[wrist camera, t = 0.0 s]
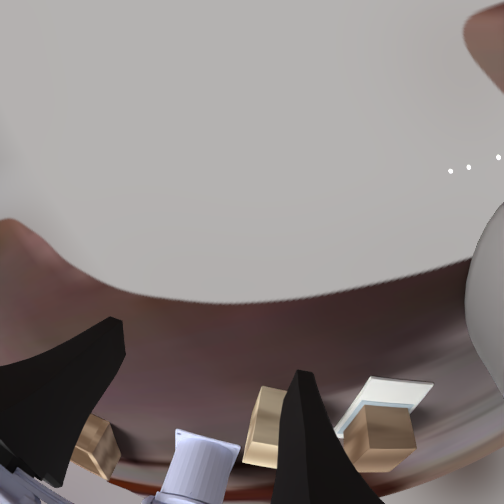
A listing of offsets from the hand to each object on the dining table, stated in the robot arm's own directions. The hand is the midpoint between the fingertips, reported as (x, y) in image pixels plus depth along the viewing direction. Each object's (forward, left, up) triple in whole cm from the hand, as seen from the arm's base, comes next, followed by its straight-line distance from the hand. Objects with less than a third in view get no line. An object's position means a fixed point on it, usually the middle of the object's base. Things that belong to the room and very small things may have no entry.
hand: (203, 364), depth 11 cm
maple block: (-14, -6, -10) cm, 18 cm away
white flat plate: (-13, -16, -10) cm, 23 cm away
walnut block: (-14, -16, -9) cm, 23 cm away
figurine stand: (-36, +22, -10) cm, 43 cm away
